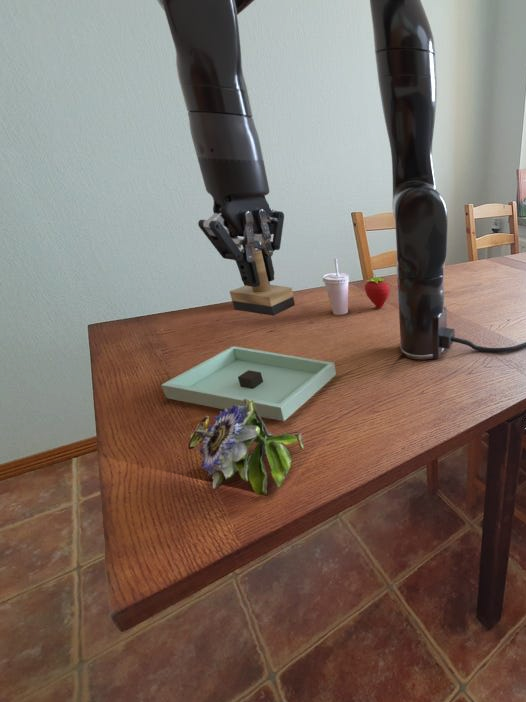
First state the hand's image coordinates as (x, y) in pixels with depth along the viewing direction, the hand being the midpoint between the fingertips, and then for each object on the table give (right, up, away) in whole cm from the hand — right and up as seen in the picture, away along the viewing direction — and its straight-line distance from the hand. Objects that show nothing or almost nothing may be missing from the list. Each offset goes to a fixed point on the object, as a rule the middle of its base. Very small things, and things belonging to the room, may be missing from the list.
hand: (260, 282), depth 58 cm
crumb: (-6, -16, +8) cm, 19 cm away
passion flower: (+4, -27, -8) cm, 28 cm away
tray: (-5, -17, +8) cm, 20 cm away
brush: (0, -4, +2) cm, 4 cm away
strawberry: (+6, +2, +45) cm, 45 cm away
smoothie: (-3, 0, +41) cm, 41 cm away
